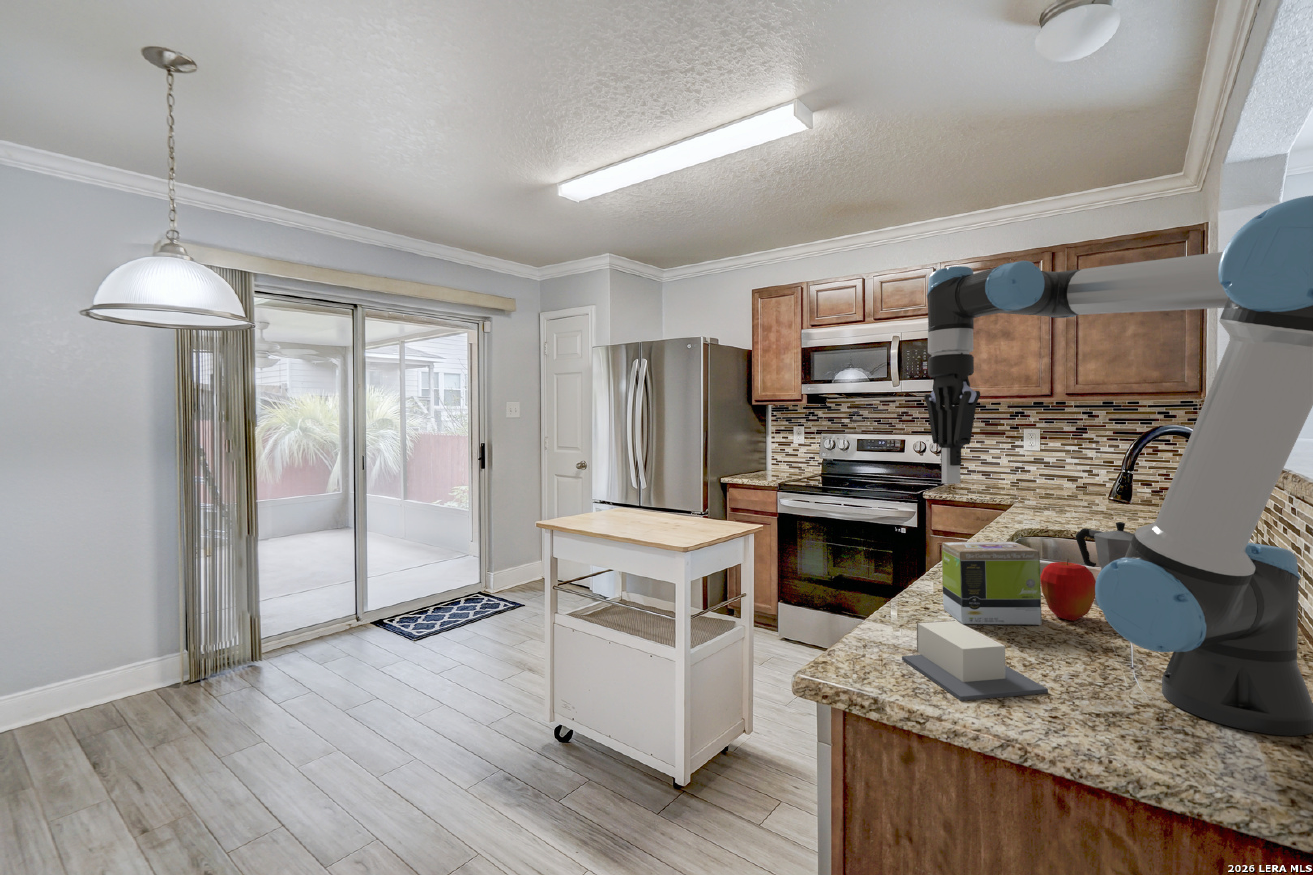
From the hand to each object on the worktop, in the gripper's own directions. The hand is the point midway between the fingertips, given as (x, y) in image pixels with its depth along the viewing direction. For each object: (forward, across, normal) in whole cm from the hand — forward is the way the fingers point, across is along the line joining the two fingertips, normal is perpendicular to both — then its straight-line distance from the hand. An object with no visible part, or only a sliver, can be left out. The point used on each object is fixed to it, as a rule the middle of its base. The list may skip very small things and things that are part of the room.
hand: (950, 483), depth 109 cm
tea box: (+29, +8, -14) cm, 33 cm away
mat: (+28, -16, +8) cm, 34 cm away
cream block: (+25, -7, +8) cm, 28 cm away
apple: (+29, +5, -29) cm, 41 cm away
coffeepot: (+29, +10, -45) cm, 54 cm away
